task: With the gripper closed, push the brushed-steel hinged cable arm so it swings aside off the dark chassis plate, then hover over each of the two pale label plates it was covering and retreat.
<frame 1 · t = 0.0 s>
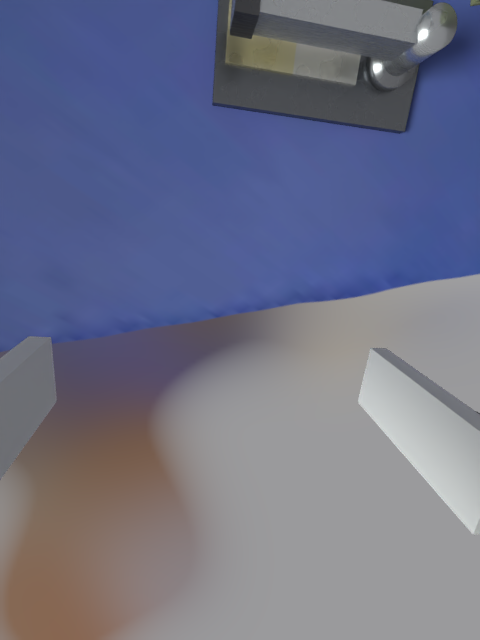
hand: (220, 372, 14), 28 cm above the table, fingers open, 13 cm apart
cable arm: (337, 27, 29), point 6 cm above the table, hinge at 0.0°
chassis: (383, 68, 36), on the table
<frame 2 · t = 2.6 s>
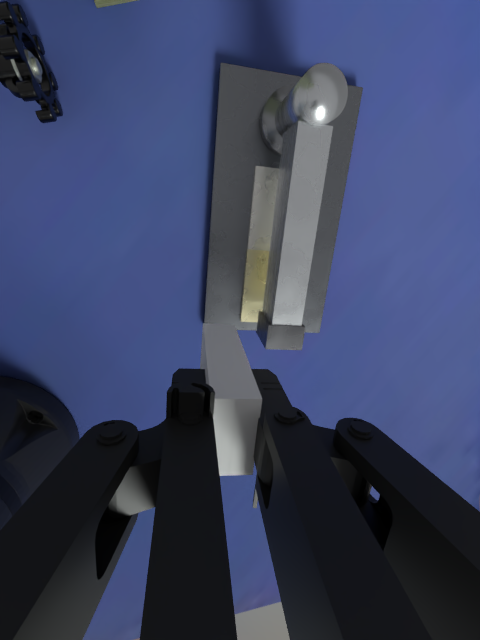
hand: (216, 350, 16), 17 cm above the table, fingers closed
cable arm: (291, 224, 25), point 6 cm above the table, hinge at 0.0°
chassis: (285, 127, 28), on the table
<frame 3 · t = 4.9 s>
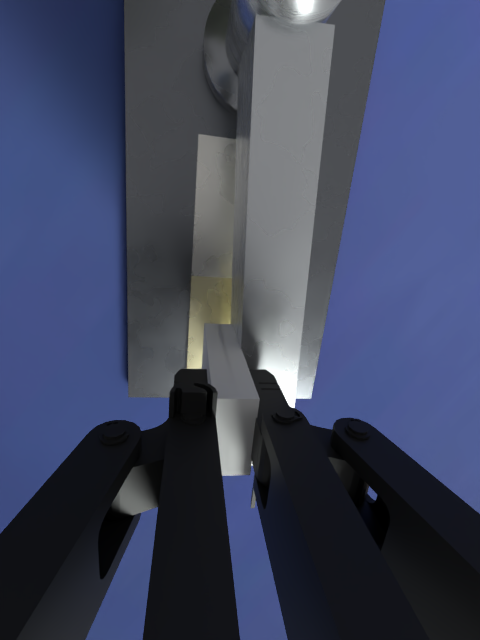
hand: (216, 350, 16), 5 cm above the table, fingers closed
cable arm: (264, 239, 14), point 6 cm above the table, hinge at 3.3°, touching gripper
chassis: (251, 69, 16), on the table
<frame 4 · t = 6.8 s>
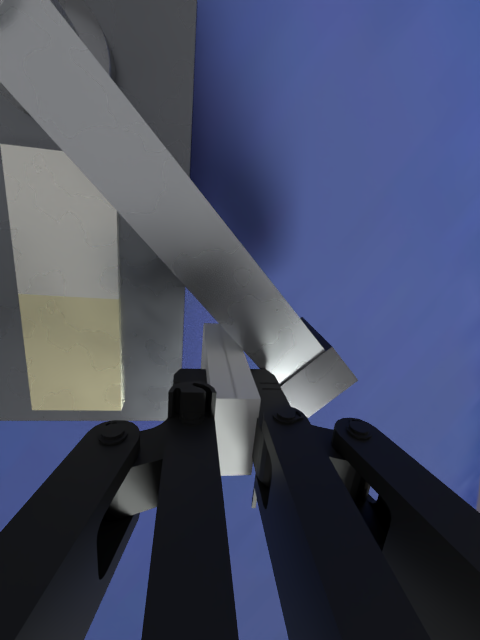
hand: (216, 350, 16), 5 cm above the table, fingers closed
cable arm: (173, 212, 13), point 6 cm above the table, hinge at 44.2°, touching gripper
chassis: (65, 73, 15), on the table
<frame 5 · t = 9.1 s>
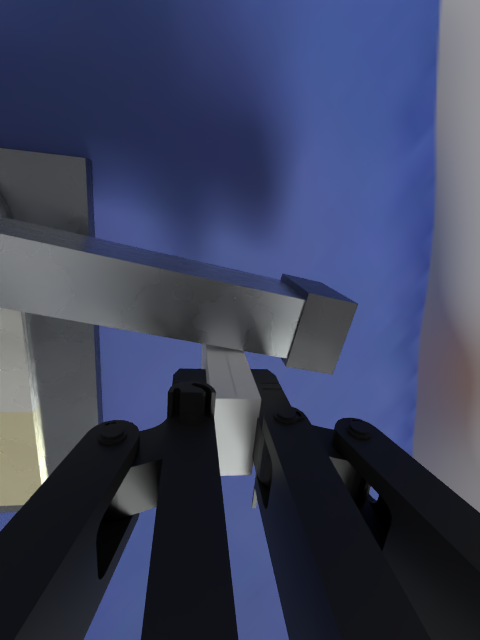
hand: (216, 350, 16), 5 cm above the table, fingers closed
cable arm: (104, 275, 13), point 6 cm above the table, hinge at 81.4°, touching gripper
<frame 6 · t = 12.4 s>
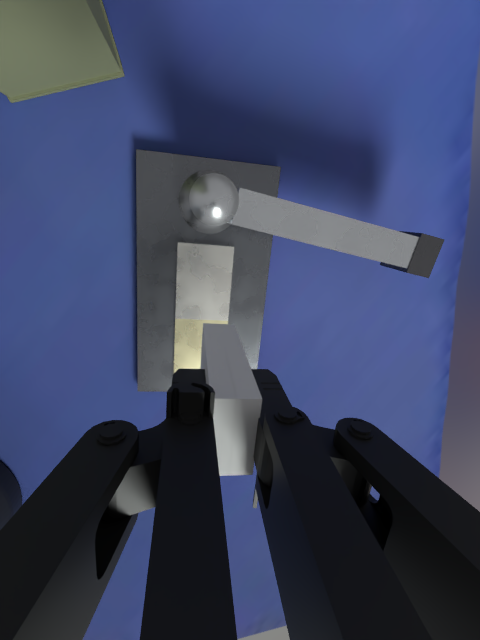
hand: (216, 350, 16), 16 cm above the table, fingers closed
cable arm: (311, 227, 25), point 6 cm above the table, hinge at 81.4°
chassis: (207, 203, 29), on the table
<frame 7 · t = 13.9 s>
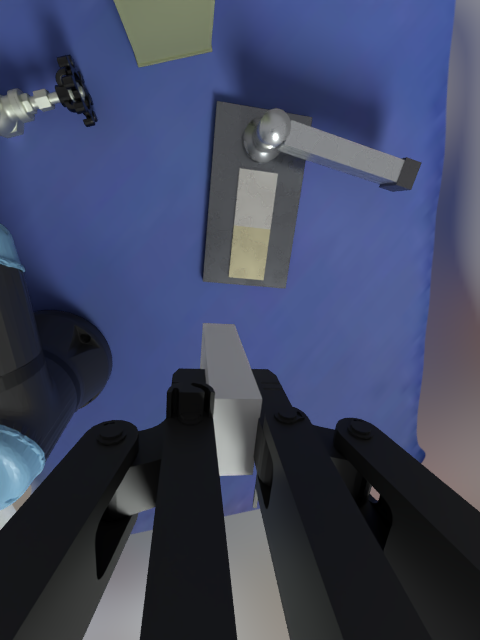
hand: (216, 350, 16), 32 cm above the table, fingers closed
cable arm: (333, 154, 38), point 6 cm above the table, hinge at 81.4°
chassis: (260, 142, 42), on the table
valve: (43, 113, 38), on the table
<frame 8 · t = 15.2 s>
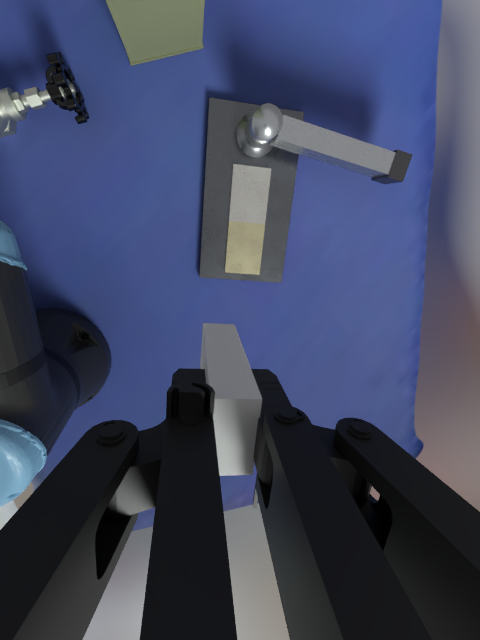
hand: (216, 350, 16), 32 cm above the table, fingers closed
cable arm: (325, 148, 39), point 6 cm above the table, hinge at 81.4°
chassis: (253, 138, 42), on the table
valve: (34, 112, 38), on the table
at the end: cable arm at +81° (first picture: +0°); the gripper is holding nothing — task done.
